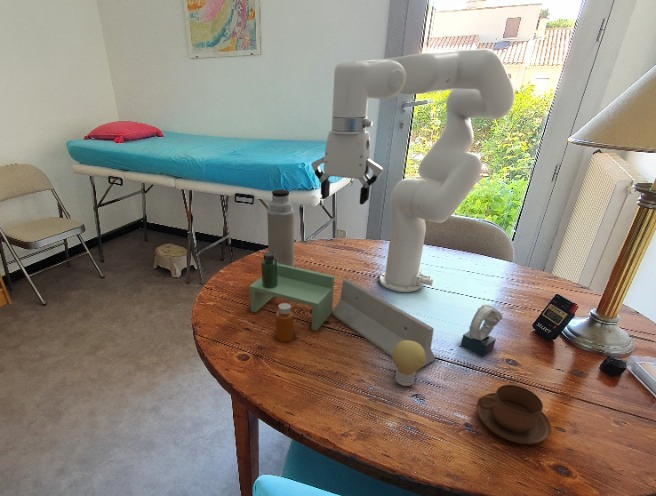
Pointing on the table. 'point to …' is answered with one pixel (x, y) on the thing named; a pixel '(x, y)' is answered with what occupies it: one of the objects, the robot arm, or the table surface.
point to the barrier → (381, 320)
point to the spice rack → (298, 291)
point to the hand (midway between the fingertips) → (343, 200)
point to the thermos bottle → (281, 227)
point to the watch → (482, 331)
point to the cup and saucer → (514, 415)
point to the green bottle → (269, 270)
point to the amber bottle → (284, 323)
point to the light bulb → (407, 361)
